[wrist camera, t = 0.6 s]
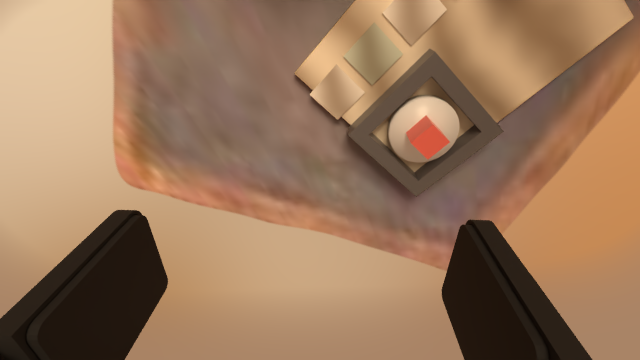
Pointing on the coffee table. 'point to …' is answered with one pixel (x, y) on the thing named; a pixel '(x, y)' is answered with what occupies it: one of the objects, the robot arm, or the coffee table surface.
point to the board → (454, 50)
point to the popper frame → (397, 95)
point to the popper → (423, 128)
